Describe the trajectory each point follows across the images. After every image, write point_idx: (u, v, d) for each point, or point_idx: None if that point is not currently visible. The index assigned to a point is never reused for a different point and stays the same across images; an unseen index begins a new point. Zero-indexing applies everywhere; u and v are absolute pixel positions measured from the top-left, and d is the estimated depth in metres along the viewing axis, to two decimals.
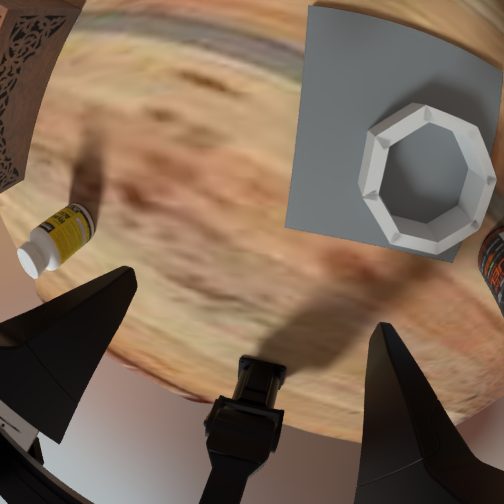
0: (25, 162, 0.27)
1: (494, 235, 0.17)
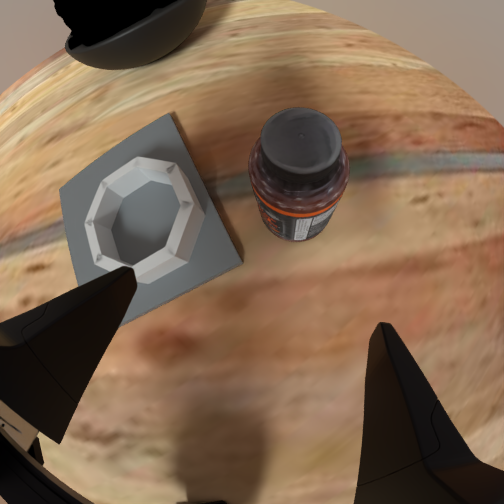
0: None
1: None
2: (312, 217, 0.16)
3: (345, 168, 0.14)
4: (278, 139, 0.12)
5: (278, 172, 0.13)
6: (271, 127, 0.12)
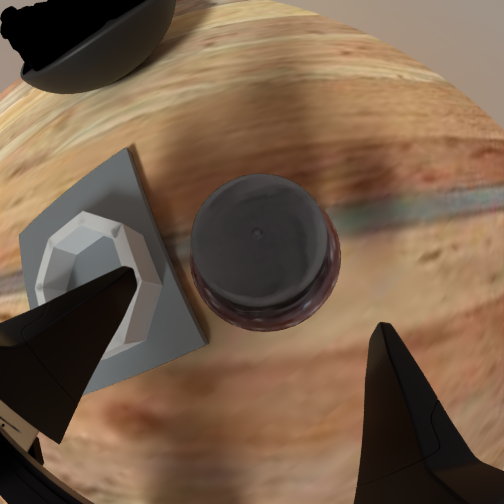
0: None
1: None
2: None
3: (333, 265, 0.10)
4: (218, 240, 0.08)
5: None
6: (208, 217, 0.08)
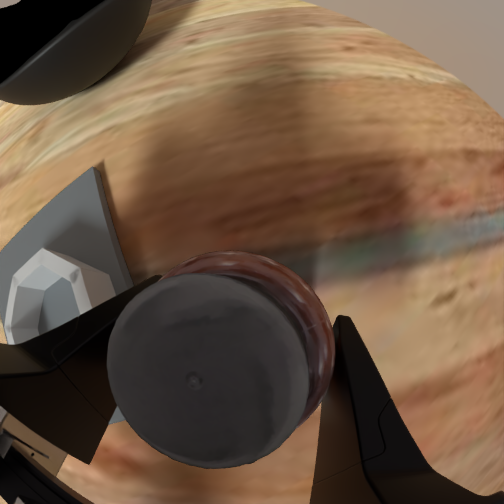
0: None
1: None
2: None
3: (322, 381, 0.06)
4: (140, 382, 0.04)
5: None
6: (124, 344, 0.05)
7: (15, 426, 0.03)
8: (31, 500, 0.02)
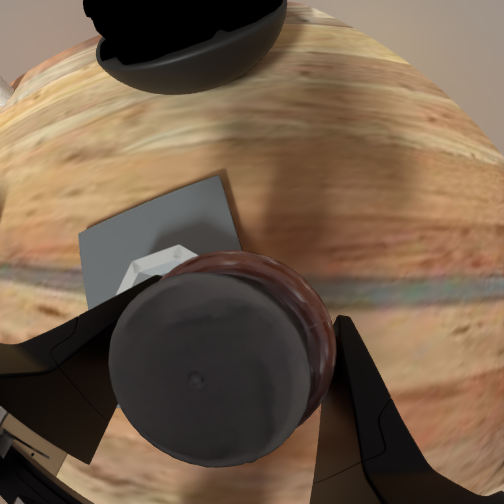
0: None
1: None
2: None
3: (323, 380, 0.06)
4: (141, 381, 0.04)
5: None
6: (126, 343, 0.05)
7: (15, 426, 0.03)
8: (31, 500, 0.02)
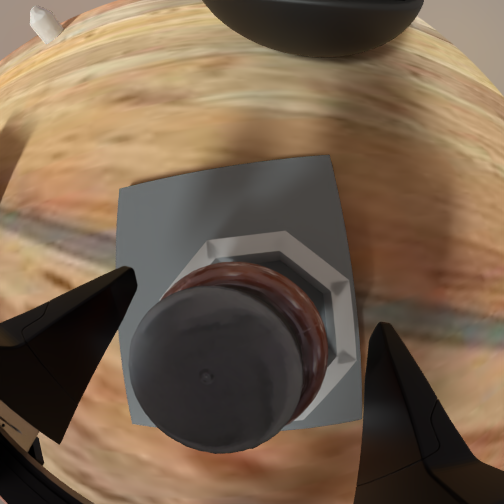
0: None
1: None
2: None
3: (316, 378, 0.07)
4: (159, 379, 0.05)
5: None
6: (145, 346, 0.06)
7: None
8: None
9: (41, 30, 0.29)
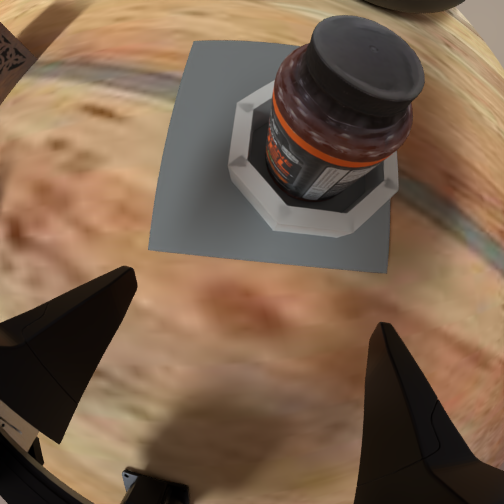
0: None
1: None
2: (350, 169, 0.10)
3: (410, 118, 0.08)
4: (340, 41, 0.06)
5: (329, 85, 0.07)
6: (331, 26, 0.06)
7: None
8: None
9: None
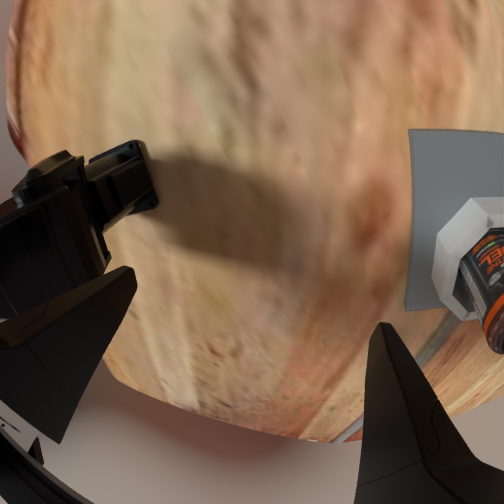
0: None
1: None
2: (483, 319, 0.12)
3: None
4: None
5: None
6: None
7: None
8: None
9: None
